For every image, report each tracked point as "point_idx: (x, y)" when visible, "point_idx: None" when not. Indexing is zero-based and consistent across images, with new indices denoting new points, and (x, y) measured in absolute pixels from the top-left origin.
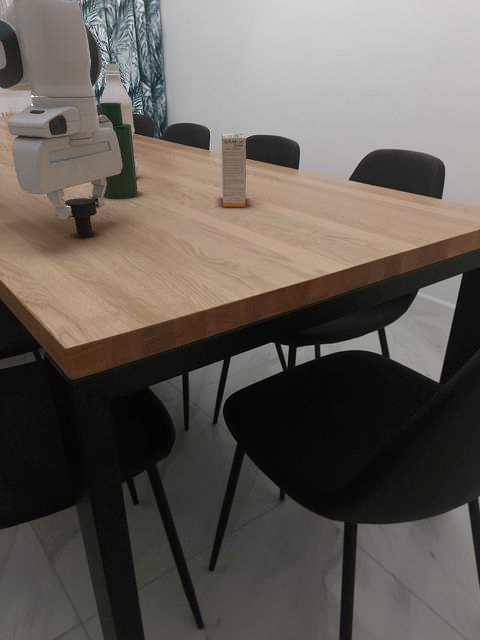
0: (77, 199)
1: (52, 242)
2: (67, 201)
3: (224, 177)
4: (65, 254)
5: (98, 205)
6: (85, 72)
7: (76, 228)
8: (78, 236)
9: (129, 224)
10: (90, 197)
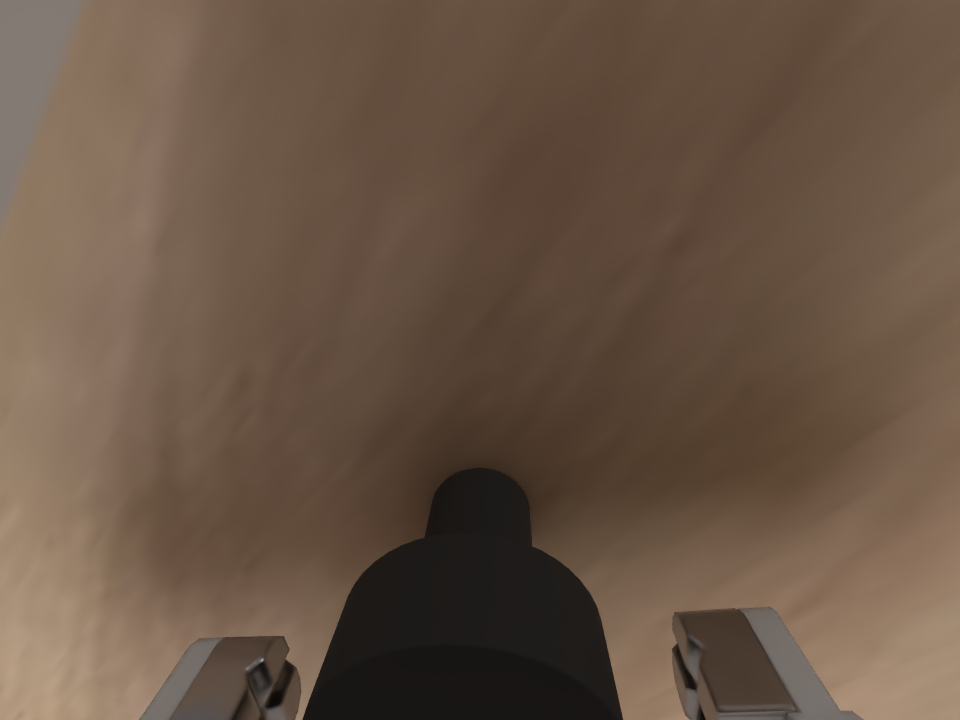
0: (517, 702)
1: (256, 449)
2: (375, 681)
3: None
4: (187, 633)
5: (681, 697)
6: None
7: (430, 522)
8: (433, 498)
9: (839, 567)
10: (711, 717)
